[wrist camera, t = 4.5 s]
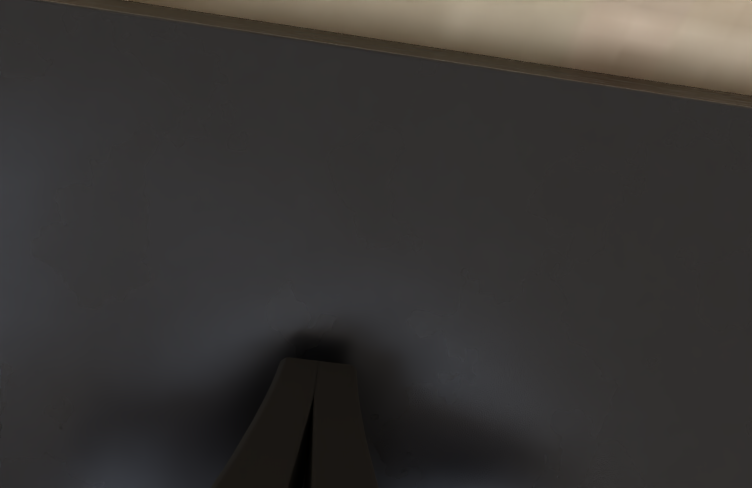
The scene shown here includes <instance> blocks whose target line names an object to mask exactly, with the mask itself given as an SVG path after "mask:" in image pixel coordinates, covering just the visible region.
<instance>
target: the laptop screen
mask: <svg viewBox="0 0 752 488" xmlns="http://www.w3.org/2000/svg"><path fill="white" fill-rule="evenodd" d="M286 357H290V358H299V359H307V360H316V361H324V362H332V363H341V364H349V365H353V366H354V367H355V368H356V369H357V385H358V395H359V403H360V409H361V415H362V420H363V426H364V431H365V436H366V440H367V444H368V449H369V453H370V456H371V460H372V464H373V468H374V472H375V476H376V479H377V483H378V486H379V488H752V107H748V106H741V105H734V104H728V103H721V102H715V101H708V100H701V99H695V98H688V97H681V96H675V95H668V94H662V93H655V92H648V91H642V90H635V89H629V88H622V87H615V86H609V85H602V84H596V83H589V82H582V81H576V80H569V79H563V78H556V77H549V76H543V75H536V74H530V73H523V72H516V71H510V70H503V69H497V68H490V67H483V66H477V65H470V64H463V63H457V62H450V61H444V60H437V59H430V58H424V57H417V56H411V55H404V54H397V53H391V52H384V51H378V50H371V49H364V48H358V47H351V46H345V45H338V44H331V43H325V42H318V41H312V40H305V39H298V38H292V37H285V36H278V35H272V34H265V33H259V32H252V31H245V30H239V29H232V28H226V27H219V26H212V25H206V24H199V23H193V22H186V21H179V20H173V19H166V18H160V17H153V16H146V15H140V14H133V13H127V12H120V11H113V10H107V9H100V8H94V7H87V6H80V5H74V4H67V3H60V2H54V1H47V0H0V488H211V486H212V485H213V483H214V482H215V480H216V479H217V477H218V476H219V474H220V473H221V471H222V470H223V468H224V467H225V466H226V464H227V462H228V461H229V459H230V458H231V456H232V455H233V453H234V451H235V449H236V448H237V446H238V444H239V443H240V441H241V439H242V438H243V436H244V434H245V433H246V431H247V429H248V428H249V426H250V424H251V422H252V421H253V419H254V417H255V415H256V413H257V411H258V410H259V408H260V406H261V404H262V402H263V400H264V398H265V396H266V394H267V392H268V390H269V388H270V386H271V383H272V381H273V379H274V376H275V374H276V372H277V369H278V366H279V363H280V361H281V360H282V359H284V358H286ZM304 478H305V477H304ZM303 488H304V483H303Z"/></svg>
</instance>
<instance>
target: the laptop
mask: <svg viewBox="0 0 752 488" xmlns="http://www.w3.org/2000/svg"><path fill="white" fill-rule="evenodd" d="M47 1H54V2H60V3H67V4H74V5H80V6H87V7H94V8H100V9H107V10H113V11H120V12H127V13H133V14H140V15H146V16H153V17H160V18H166V19H173V20H179V21H186V22H193V23H199V24H206V25H212V26H219V27H226V28H232V29H239V30H245V31H252V32H259V33H265V34H272V35H278V36H285V37H292V38H298V39H305V40H312V41H318V42H325V43H331V44H338V45H345V46H351V47H358V48H364V49H371V50H378V51H384V52H391V53H397V54H404V55H411V56H417V57H424V58H430V59H437V60H444V61H450V62H457V63H463V64H470V65H477V66H483V67H490V68H497V69H503V70H510V71H516V72H523V73H530V74H536V75H543V76H549V77H556V78H563V79H569V80H576V81H582V82H589V83H596V84H602V85H609V86H615V87H622V88H629V89H635V90H642V91H648V92H655V93H662V94H668V95H675V96H681V97H688V98H695V99H701V100H708V101H715V102H721V103H728V104H734V105H741V106H748V107H752V96H747V95H741V94H734V93H728V92H721V91H714V90H708V89H701V88H695V87H688V86H682V85H675V84H669V83H662V82H655V81H649V80H642V79H636V78H629V77H623V76H616V75H610V74H603V73H596V72H590V71H583V70H577V69H570V68H564V67H557V66H551V65H544V64H537V63H531V62H524V61H518V60H511V59H505V58H498V57H492V56H485V55H478V54H472V53H465V52H459V51H452V50H446V49H439V48H433V47H426V46H419V45H413V44H406V43H400V42H393V41H387V40H380V39H373V38H367V37H360V36H354V35H347V34H341V33H334V32H328V31H321V30H314V29H308V28H301V27H295V26H288V25H282V24H275V23H269V22H262V21H255V20H249V19H242V18H236V17H229V16H223V15H216V14H210V13H203V12H196V11H190V10H183V9H177V8H170V7H164V6H157V5H151V4H144V3H137V2H131V1H124V0H47Z"/></svg>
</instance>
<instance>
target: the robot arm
mask: <svg viewBox="0 0 752 488" xmlns="http://www.w3.org/2000/svg"><path fill="white" fill-rule="evenodd" d="M304 477H305V478H304ZM303 483H304V488H379V486H378V483H377V479H376V476H375V472H374V468H373V464H372V460H371V456H370V453H369V449H368V444H367V440H366V436H365V431H364V426H363V420H362V415H361V409H360V403H359V395H358V385H357V369H356V368H355V367H354V366H353V365H349V364H341V363H332V362H324V361H316V360H307V359H299V358H290V357H286V358H284V359H282V360H281V361H280V363H279V366H278V369H277V372H276V374H275V376H274V379H273V381H272V383H271V386H270V388H269V390H268V392H267V394H266V396H265V398H264V400H263V402H262V404H261V406H260V408H259V410H258V411H257V413H256V415H255V417H254V419H253V421H252V422H251V424H250V426H249V428H248V429H247V431H246V433H245V434H244V436H243V438H242V439H241V441H240V443H239V444H238V446H237V448H236V449H235V451H234V453H233V455H232V456H231V458H230V459H229V461H228V462H227V464H226V466H225V467H224V468H223V470H222V471H221V473H220V474H219V476H218V477H217V479H216V480H215V482H214V483H213V485H212V486H211V488H303Z"/></svg>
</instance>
